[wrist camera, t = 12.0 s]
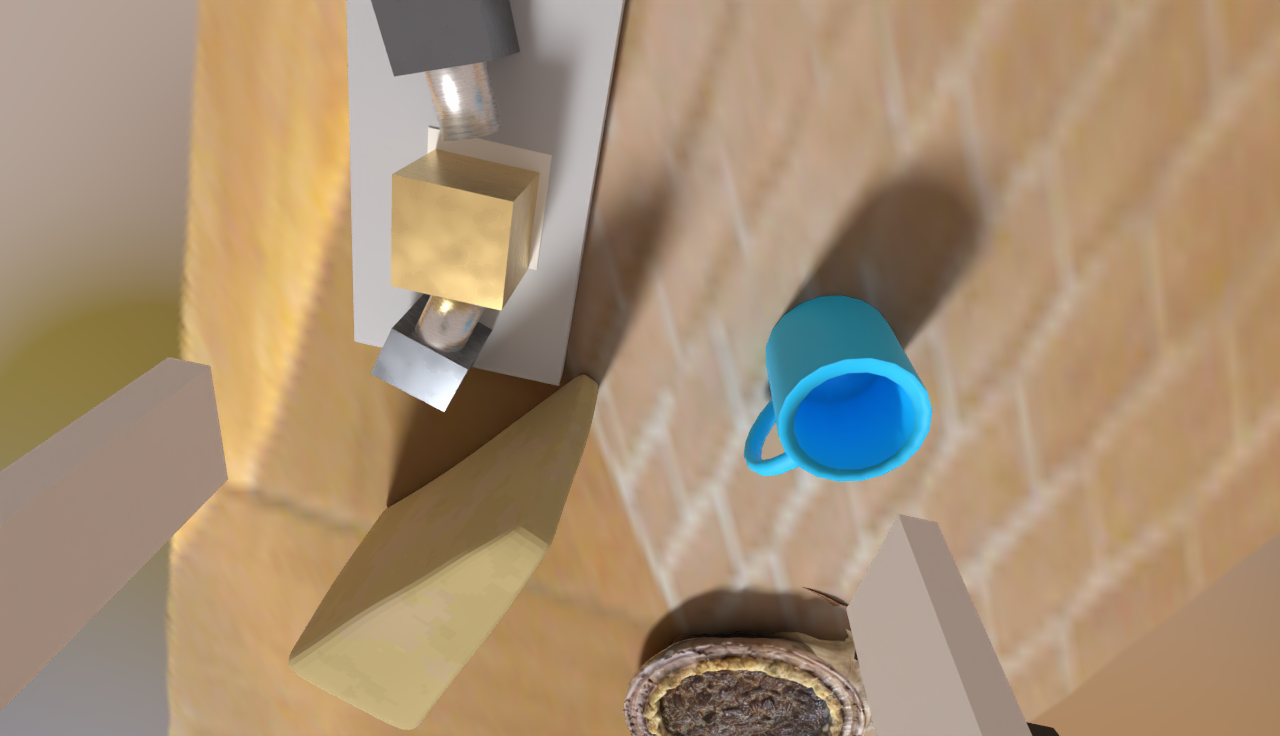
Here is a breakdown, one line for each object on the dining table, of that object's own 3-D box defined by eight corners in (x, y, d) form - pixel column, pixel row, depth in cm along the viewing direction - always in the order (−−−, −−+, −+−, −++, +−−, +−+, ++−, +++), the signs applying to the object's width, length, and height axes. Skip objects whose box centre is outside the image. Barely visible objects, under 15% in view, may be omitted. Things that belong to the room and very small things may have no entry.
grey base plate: (355, -82, 33) (343, -85, 32) (628, -17, 33) (625, -18, 32) (362, 333, 45) (353, 342, 44) (562, 376, 45) (558, 386, 44)
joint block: (431, 248, 40) (390, 286, 35) (435, 148, 37) (391, 174, 32) (527, 269, 40) (501, 310, 35) (539, 172, 37) (513, 201, 32)
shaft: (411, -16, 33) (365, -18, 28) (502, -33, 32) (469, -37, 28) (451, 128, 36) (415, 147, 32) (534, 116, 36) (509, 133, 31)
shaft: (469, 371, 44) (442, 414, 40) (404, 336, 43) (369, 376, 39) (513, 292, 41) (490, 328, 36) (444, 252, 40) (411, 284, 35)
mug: (832, 269, 40) (860, 328, 33) (920, 347, 42) (964, 419, 35) (700, 393, 45) (700, 467, 38) (785, 457, 47) (800, 538, 40)
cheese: (537, 331, 44) (467, 473, 31) (646, 416, 46) (624, 579, 33) (378, 509, 53) (273, 675, 40) (476, 570, 56) (407, 745, 43)
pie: (740, 794, 70) (742, 846, 66) (535, 674, 63) (523, 724, 59) (959, 680, 58) (979, 734, 54) (736, 518, 51) (738, 566, 47)
